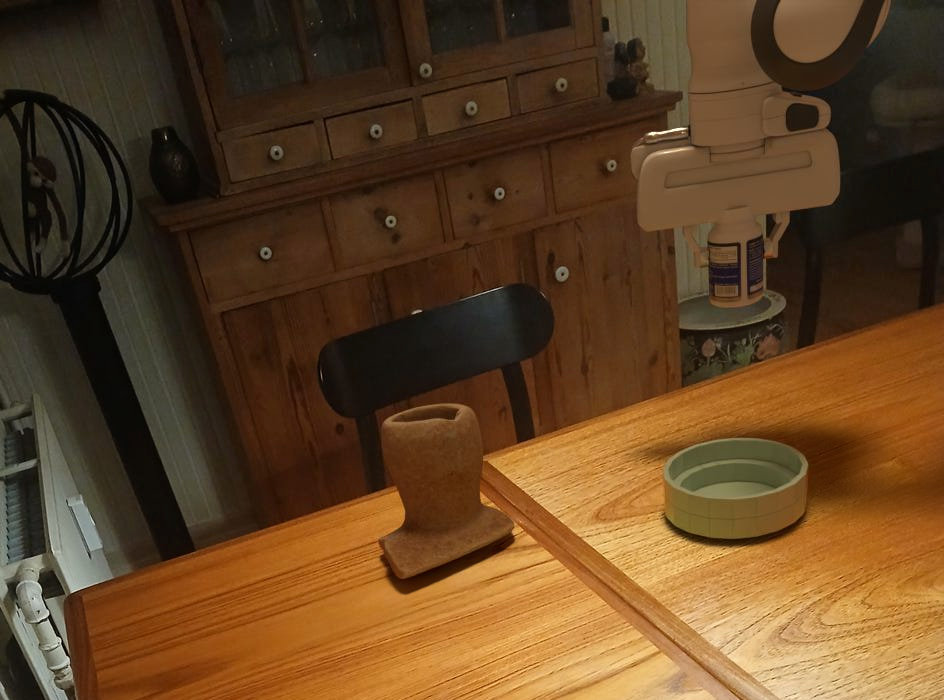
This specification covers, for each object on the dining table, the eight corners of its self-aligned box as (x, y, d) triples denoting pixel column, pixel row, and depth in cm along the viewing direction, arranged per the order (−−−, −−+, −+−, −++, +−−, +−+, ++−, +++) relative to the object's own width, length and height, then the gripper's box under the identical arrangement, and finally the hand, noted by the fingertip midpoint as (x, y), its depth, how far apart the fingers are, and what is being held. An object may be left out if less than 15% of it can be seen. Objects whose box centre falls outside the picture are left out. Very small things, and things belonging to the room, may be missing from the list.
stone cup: (472, 505, 113) (451, 379, 105) (530, 540, 104) (513, 406, 96) (355, 553, 108) (324, 425, 100) (407, 594, 99) (377, 457, 91)
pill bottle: (750, 289, 110) (750, 194, 104) (772, 301, 105) (773, 202, 100) (701, 299, 110) (698, 205, 104) (720, 312, 105) (718, 214, 99)
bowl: (791, 474, 108) (792, 431, 105) (818, 536, 96) (821, 490, 93) (659, 487, 110) (657, 445, 107) (671, 550, 98) (669, 505, 95)
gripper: (630, 140, 97) (638, 283, 104) (848, 104, 93) (840, 255, 101) (627, 130, 102) (635, 268, 109) (833, 96, 98) (827, 240, 106)
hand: (735, 261), depth 105 cm, fingers closed on pill bottle, 6 cm apart
